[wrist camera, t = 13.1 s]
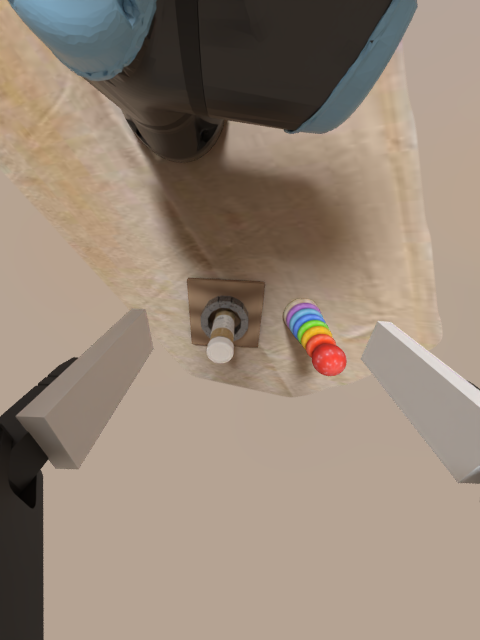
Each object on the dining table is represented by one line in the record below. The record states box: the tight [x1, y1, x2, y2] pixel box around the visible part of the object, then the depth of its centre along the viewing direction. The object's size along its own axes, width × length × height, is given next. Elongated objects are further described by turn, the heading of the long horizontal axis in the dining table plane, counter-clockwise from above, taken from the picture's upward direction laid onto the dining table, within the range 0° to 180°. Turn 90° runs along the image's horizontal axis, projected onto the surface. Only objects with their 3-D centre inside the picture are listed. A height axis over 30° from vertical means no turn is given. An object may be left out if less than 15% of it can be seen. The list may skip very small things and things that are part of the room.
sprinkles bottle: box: [207, 308, 235, 363], centre depth 39 cm, size 5×5×13 cm
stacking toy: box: [283, 298, 346, 376], centre depth 38 cm, size 8×8×19 cm
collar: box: [201, 295, 249, 341], centre depth 44 cm, size 10×10×3 cm
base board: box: [187, 278, 265, 347], centre depth 46 cm, size 16×16×2 cm
